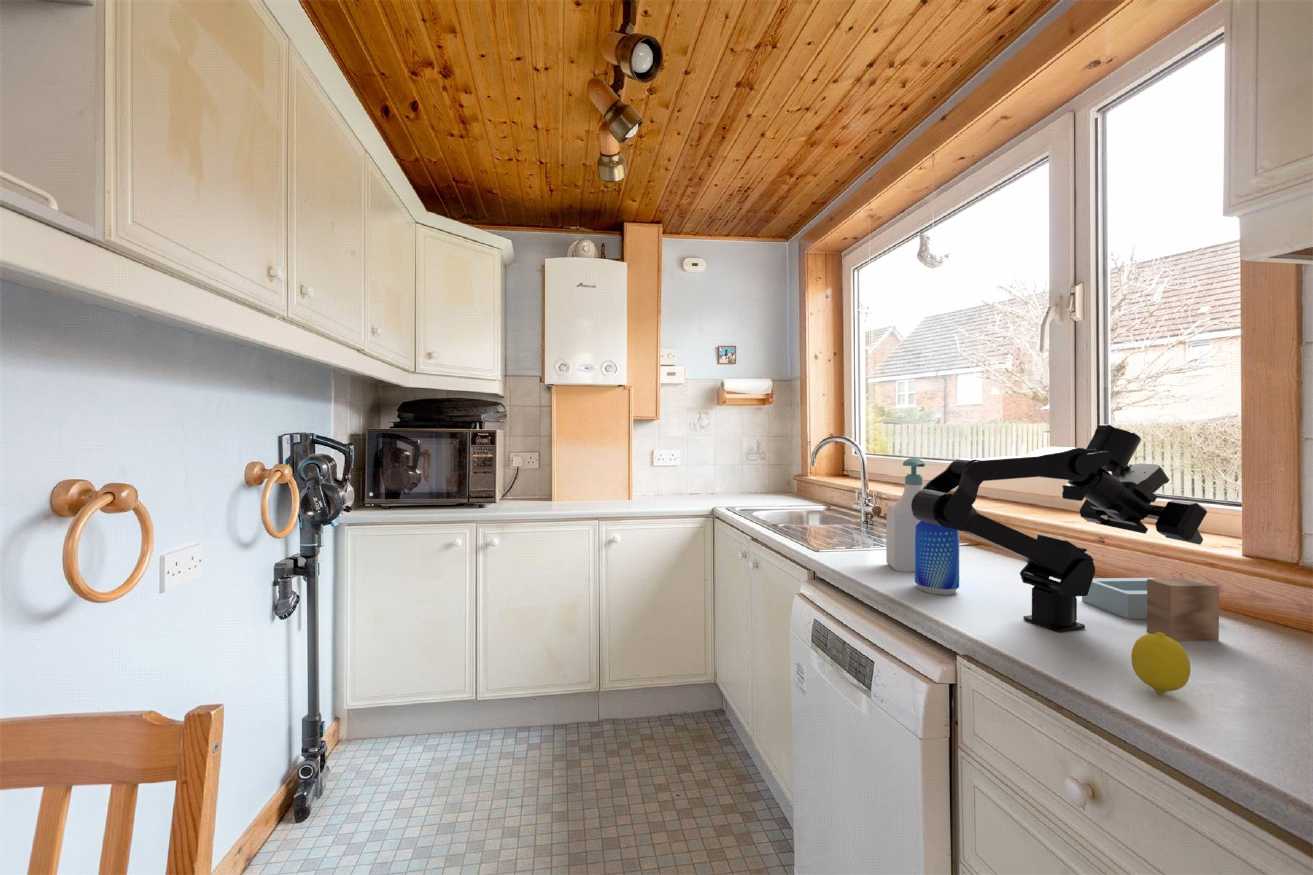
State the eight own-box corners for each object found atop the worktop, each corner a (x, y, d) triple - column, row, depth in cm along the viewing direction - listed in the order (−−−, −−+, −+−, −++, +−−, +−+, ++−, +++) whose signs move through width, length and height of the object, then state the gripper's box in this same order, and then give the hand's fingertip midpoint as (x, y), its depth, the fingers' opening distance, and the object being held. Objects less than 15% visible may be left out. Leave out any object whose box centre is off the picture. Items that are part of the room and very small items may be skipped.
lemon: (1119, 683, 71) (1120, 625, 71) (1157, 682, 71) (1157, 623, 71) (1162, 705, 65) (1163, 641, 65) (1202, 703, 66) (1203, 640, 66)
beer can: (960, 587, 114) (960, 514, 114) (958, 598, 107) (958, 520, 106) (917, 581, 118) (917, 511, 118) (912, 591, 111) (912, 516, 111)
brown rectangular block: (1170, 641, 85) (1170, 586, 85) (1146, 631, 89) (1147, 579, 89) (1218, 640, 85) (1219, 585, 85) (1193, 631, 89) (1193, 578, 89)
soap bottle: (897, 573, 126) (897, 458, 125) (886, 564, 134) (886, 456, 133) (945, 574, 124) (946, 458, 124) (931, 565, 133) (931, 456, 132)
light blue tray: (1127, 618, 95) (1128, 594, 95) (1081, 600, 105) (1082, 578, 105) (1205, 618, 95) (1206, 593, 95) (1152, 600, 105) (1152, 577, 105)
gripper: (1185, 456, 84) (1257, 506, 86) (1081, 450, 103) (1142, 491, 104) (1151, 515, 84) (1224, 564, 85) (1052, 499, 102) (1114, 539, 104)
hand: (1172, 536), depth 95 cm, fingers open, 9 cm apart
